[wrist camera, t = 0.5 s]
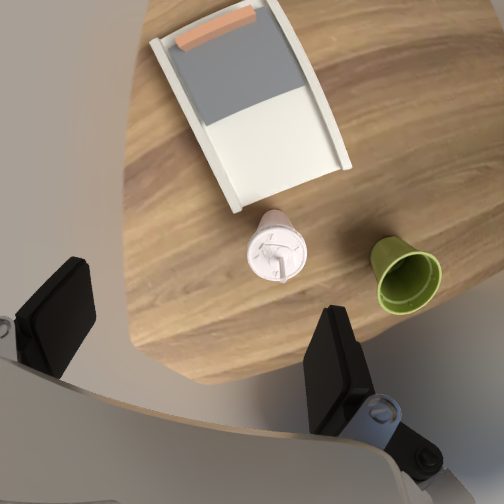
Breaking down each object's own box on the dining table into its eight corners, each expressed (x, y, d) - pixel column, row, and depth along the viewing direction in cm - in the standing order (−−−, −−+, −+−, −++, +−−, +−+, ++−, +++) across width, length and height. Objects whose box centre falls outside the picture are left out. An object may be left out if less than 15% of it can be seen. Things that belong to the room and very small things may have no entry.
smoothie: (280, 252, 42) (285, 315, 30) (241, 228, 41) (230, 285, 28) (308, 216, 40) (326, 269, 27) (268, 190, 38) (269, 232, 26)
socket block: (166, 50, 30) (149, 41, 25) (269, 5, 27) (269, -12, 22) (238, 197, 39) (233, 213, 33) (339, 158, 36) (352, 167, 30)
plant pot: (386, 212, 39) (411, 237, 31) (426, 245, 41) (453, 273, 33) (347, 262, 42) (362, 297, 35) (389, 289, 44) (408, 324, 37)
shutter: (170, 50, 26) (160, 44, 23) (264, 9, 24) (264, -3, 20) (208, 125, 30) (201, 127, 27) (303, 86, 28) (308, 83, 24)
